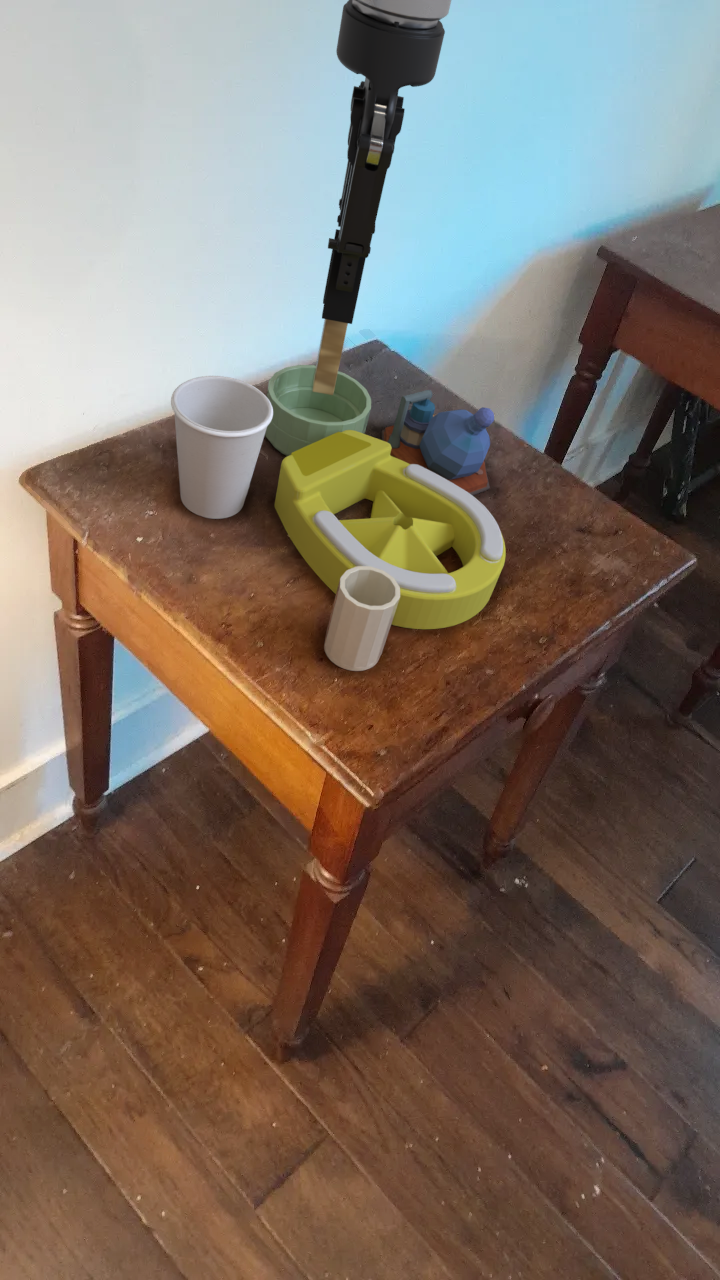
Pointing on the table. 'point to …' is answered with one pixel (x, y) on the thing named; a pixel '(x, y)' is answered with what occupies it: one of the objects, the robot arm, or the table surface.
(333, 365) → the stick
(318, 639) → the table surface
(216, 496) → the dixie cup
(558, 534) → the table surface
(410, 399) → the model
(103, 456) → the table surface
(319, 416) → the bowl
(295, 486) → the toy steering wheel
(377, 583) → the holder
